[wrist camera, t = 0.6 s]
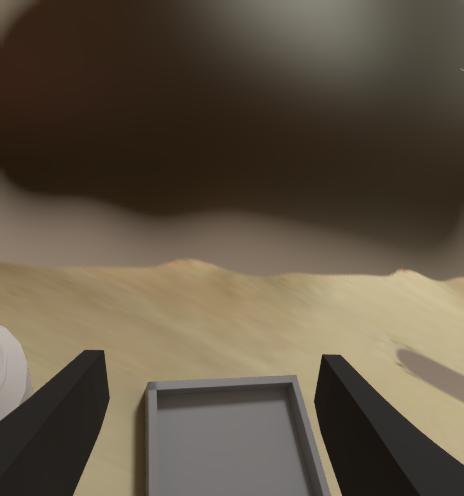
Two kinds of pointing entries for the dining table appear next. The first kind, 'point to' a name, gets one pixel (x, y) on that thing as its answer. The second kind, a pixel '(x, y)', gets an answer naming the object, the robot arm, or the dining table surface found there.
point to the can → (12, 374)
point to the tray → (230, 439)
